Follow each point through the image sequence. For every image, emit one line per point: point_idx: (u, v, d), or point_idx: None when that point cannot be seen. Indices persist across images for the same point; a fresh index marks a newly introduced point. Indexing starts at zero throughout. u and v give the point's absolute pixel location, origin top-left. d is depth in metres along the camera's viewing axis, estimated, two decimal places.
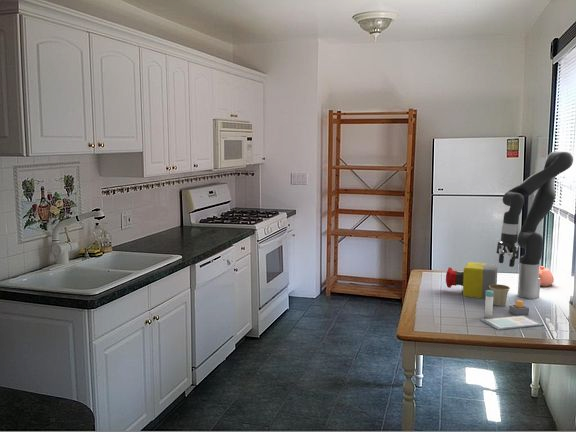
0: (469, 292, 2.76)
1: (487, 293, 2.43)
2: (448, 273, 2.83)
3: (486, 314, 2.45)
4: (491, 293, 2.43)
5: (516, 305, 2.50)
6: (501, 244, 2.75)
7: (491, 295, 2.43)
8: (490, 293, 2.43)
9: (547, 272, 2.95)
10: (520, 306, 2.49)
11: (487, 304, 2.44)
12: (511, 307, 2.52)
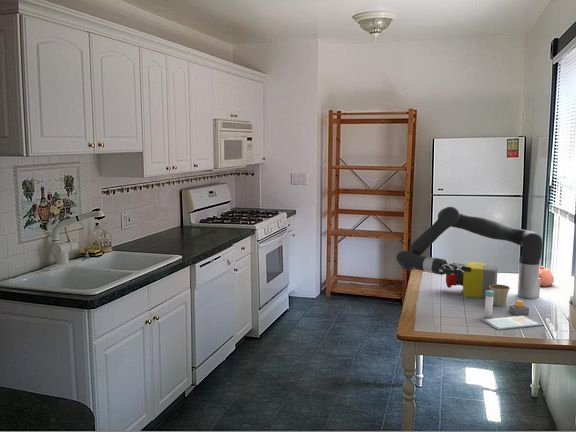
0: (469, 292, 2.76)
1: (487, 293, 2.43)
2: None
3: (486, 314, 2.45)
4: (491, 293, 2.43)
5: (516, 305, 2.50)
6: None
7: (491, 295, 2.43)
8: (490, 293, 2.43)
9: (547, 272, 2.95)
10: (520, 306, 2.49)
11: (487, 304, 2.44)
12: (511, 307, 2.52)
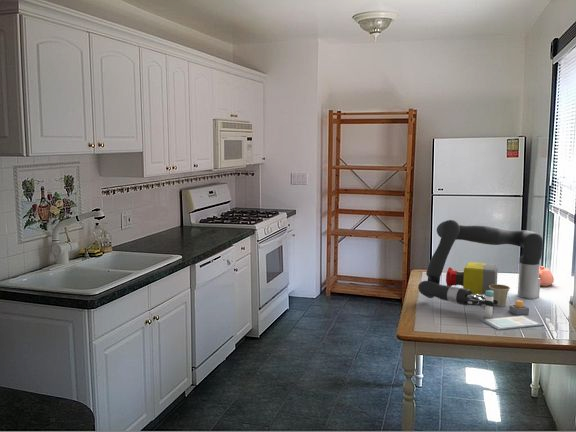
0: None
1: (487, 293, 2.43)
2: (448, 273, 2.83)
3: (486, 314, 2.45)
4: (491, 293, 2.43)
5: (516, 305, 2.50)
6: None
7: (491, 295, 2.43)
8: (490, 293, 2.43)
9: (547, 272, 2.95)
10: (520, 306, 2.49)
11: None
12: (511, 307, 2.52)
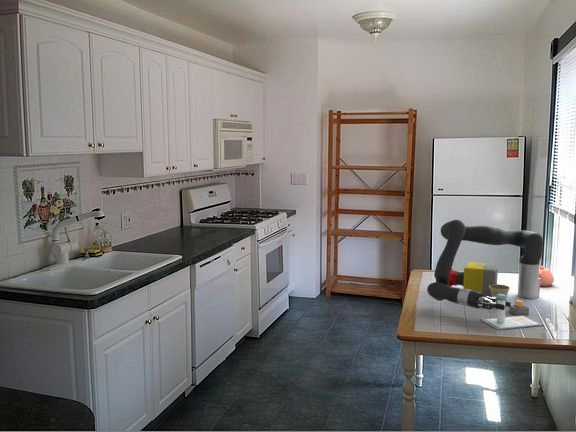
0: None
1: (499, 297, 2.35)
2: None
3: (498, 319, 2.36)
4: (503, 297, 2.34)
5: (516, 305, 2.50)
6: None
7: (503, 299, 2.34)
8: (502, 297, 2.34)
9: (547, 272, 2.95)
10: (520, 306, 2.49)
11: (499, 309, 2.35)
12: (511, 307, 2.52)
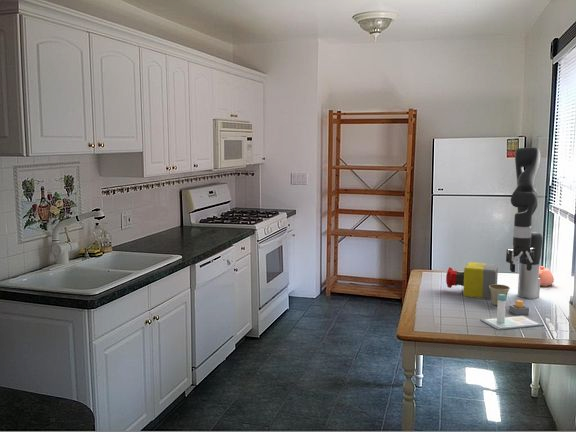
0: (469, 292, 2.76)
1: (499, 297, 2.35)
2: (448, 273, 2.83)
3: (498, 319, 2.36)
4: (504, 297, 2.34)
5: (516, 305, 2.50)
6: (512, 251, 2.46)
7: (504, 299, 2.34)
8: (503, 297, 2.34)
9: (547, 272, 2.95)
10: (520, 306, 2.49)
11: (499, 309, 2.35)
12: (511, 307, 2.52)
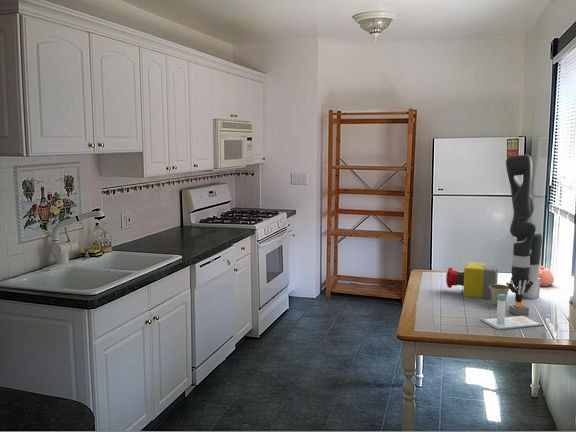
0: (469, 292, 2.76)
1: (499, 297, 2.35)
2: (448, 273, 2.83)
3: (498, 319, 2.36)
4: (503, 297, 2.34)
5: (516, 306, 2.50)
6: (512, 282, 2.48)
7: (503, 299, 2.34)
8: (502, 297, 2.34)
9: (547, 272, 2.95)
10: (520, 307, 2.49)
11: (499, 309, 2.35)
12: (511, 307, 2.52)
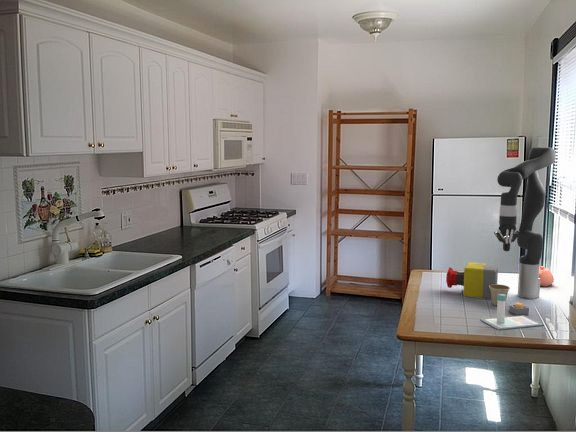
0: (469, 292, 2.76)
1: (499, 297, 2.34)
2: (448, 273, 2.83)
3: (498, 319, 2.36)
4: (503, 297, 2.34)
5: None
6: (499, 232, 2.55)
7: (503, 299, 2.34)
8: (502, 297, 2.34)
9: (547, 272, 2.95)
10: None
11: (499, 309, 2.35)
12: (511, 307, 2.52)
